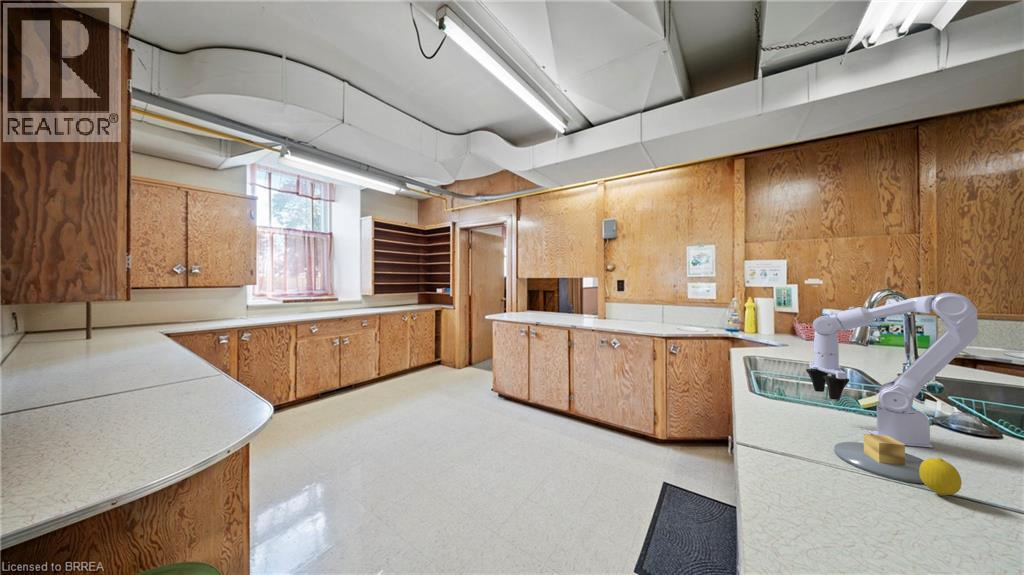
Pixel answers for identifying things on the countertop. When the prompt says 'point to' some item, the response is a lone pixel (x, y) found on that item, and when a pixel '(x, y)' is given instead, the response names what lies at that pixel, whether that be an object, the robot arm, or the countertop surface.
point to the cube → (884, 449)
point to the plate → (859, 459)
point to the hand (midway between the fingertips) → (826, 395)
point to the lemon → (940, 476)
